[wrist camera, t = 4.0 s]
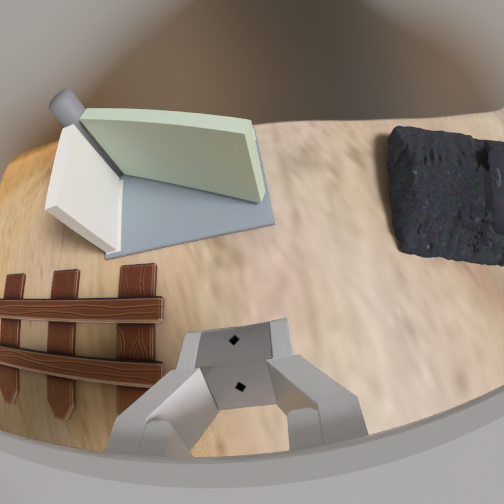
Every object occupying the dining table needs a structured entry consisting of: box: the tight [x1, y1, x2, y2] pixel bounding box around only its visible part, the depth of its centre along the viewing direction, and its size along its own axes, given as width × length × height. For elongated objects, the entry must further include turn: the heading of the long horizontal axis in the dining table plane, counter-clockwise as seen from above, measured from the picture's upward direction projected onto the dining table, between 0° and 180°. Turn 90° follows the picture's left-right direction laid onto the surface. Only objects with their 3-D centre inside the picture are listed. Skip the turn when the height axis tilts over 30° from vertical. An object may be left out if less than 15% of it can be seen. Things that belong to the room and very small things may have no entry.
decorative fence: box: [0, 263, 164, 420], centre depth 26 cm, size 23×2×15 cm
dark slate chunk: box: [387, 126, 504, 266], centre depth 23 cm, size 15×22×5 cm
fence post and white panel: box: [45, 89, 124, 252], centre depth 24 cm, size 11×2×12 cm, turn 9°
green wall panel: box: [79, 108, 266, 203], centre depth 24 cm, size 15×1×9 cm, turn 71°
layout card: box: [105, 127, 275, 260], centre depth 29 cm, size 11×16×1 cm
